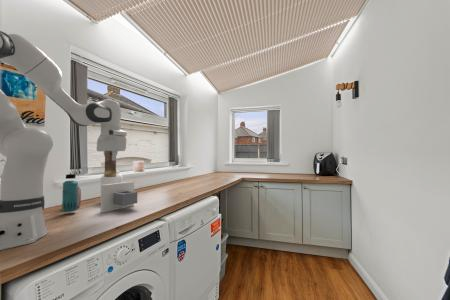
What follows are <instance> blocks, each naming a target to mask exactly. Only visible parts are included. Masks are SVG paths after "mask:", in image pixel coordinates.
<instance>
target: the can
mask: <svg viewBox="0 0 450 300" xmlns="http://www.w3.org/2000/svg"><path fill="white" fill-rule="evenodd" d="M120 172H121V171H120V170H119V169H116V177H104V174H102V175H101V177H100V186H101V185H105V184H114V183H123V182H124V177H123V175H122V173H120Z"/></svg>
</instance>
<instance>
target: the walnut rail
mask: <svg viewBox="0 0 450 300" xmlns="http://www.w3.org/2000/svg"><path fill="white" fill-rule="evenodd" d="M112 154H113V153H112V151H109V150H108V151H105V156H104V170H103V171H104V173H103V175H104V177H116V170H117V159H116V160H115V161H111V157H112Z"/></svg>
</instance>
